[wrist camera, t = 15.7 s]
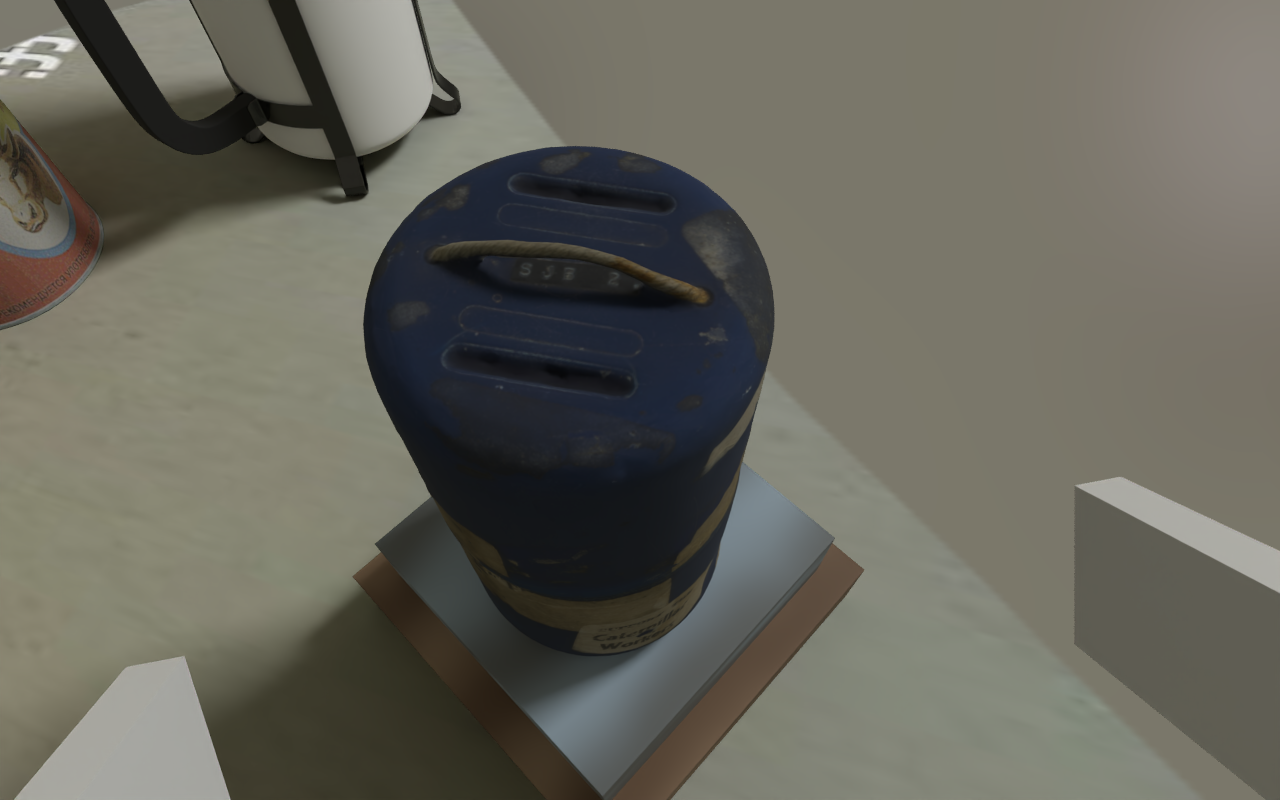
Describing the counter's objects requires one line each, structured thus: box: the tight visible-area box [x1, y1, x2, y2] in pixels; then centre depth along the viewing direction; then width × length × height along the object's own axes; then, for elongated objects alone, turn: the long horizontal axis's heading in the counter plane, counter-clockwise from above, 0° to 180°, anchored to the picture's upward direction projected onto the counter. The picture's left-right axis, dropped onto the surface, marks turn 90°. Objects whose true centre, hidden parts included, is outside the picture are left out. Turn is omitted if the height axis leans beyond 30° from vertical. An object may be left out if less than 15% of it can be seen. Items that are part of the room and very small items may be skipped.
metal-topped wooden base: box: [353, 462, 864, 800], centre depth 36 cm, size 16×16×8 cm
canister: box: [363, 146, 774, 656], centre depth 25 cm, size 10×10×18 cm
